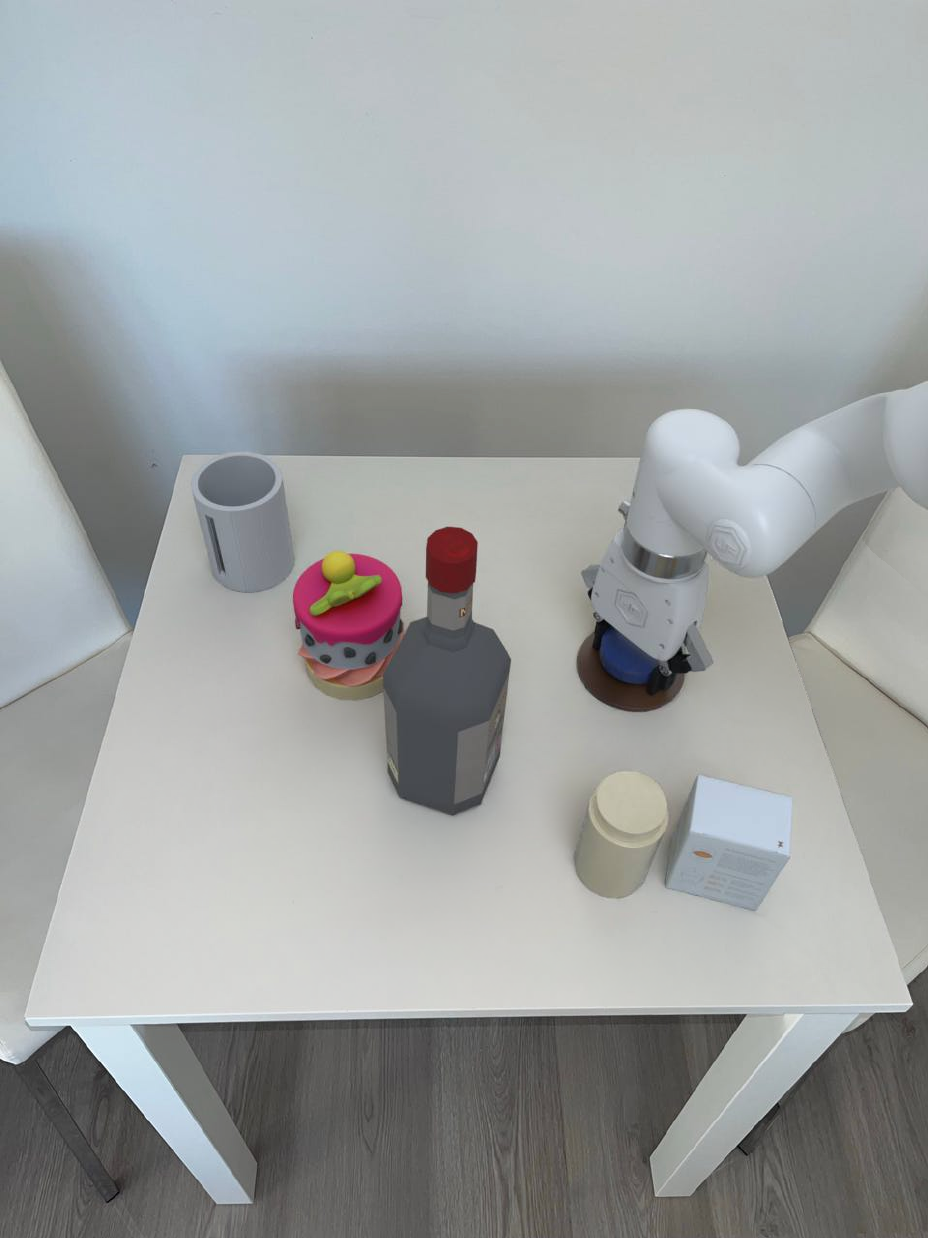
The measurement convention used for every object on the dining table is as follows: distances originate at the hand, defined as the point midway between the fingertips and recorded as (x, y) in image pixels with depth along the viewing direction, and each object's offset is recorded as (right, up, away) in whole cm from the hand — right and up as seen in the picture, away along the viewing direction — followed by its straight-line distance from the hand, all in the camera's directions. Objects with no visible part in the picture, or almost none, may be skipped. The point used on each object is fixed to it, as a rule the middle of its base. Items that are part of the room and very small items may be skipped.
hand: (631, 663), depth 96 cm
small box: (+5, -18, -14) cm, 23 cm away
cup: (-41, +11, +9) cm, 43 cm away
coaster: (0, -1, +1) cm, 1 cm away
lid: (0, +2, -2) cm, 3 cm away
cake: (-29, 0, 0) cm, 28 cm away
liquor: (-19, -10, -8) cm, 23 cm away
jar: (-4, -17, -14) cm, 22 cm away
